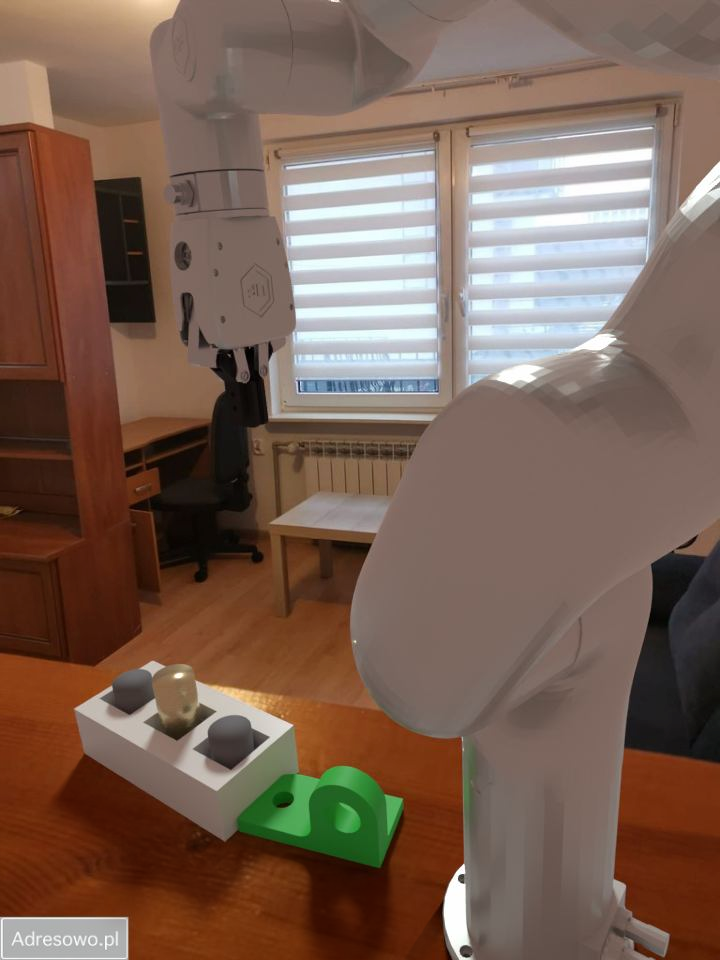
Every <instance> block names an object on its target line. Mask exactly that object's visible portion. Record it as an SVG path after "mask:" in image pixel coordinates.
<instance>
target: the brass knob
mask: <svg viewBox="0 0 720 960" xmlns="http://www.w3.org/2000/svg"><path fill="white" fill-rule="evenodd" d="M165 666H166V665H165ZM195 680H196V676H195V670H194V668H193V667H192V666H191V665H188V664H184V663H175V664H170V665H167V666H166V667H164V668H162V669H160V670H159V671H157V672H156V673H155V674H154V675H153V677H152V684H153V690H154V695H155V700H156V706H157V711H158V716H159V721H160V727H161V732H162V733H163V734H165V735H167V736H169V737H171V738H173V739H174V740H176V741H178V740H179V739H181V738H182V737H183V736H185V735H186V734H187V733H189V732H190V731H191V730H193V729H194V728H195V727H197V726H198V725H199V724H201V723H202V717H201V711H200V705H199V699H198V693H197V687H196V681H197V680H196V681H195Z"/></svg>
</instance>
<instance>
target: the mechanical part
mask: <svg viewBox="0 0 720 960" xmlns="http://www.w3.org/2000/svg"><path fill="white" fill-rule="evenodd" d="M284 803H285V804H286V803H287V804H288V803H289V804H290V805H288V806H285V807H277V806H279V805H281V804H284ZM403 811H404V798H402V797H399V796H398V797H397V796H393V795H389V794H385V793H384V791H383V789H382V788H381V786H380V785H379V784H378V783H377V781H376V780H375V779H373V778H372V777H371V776H370V775H369V774H367V773H366V772H364V771H362V770H360V769H358V768H356V767H354V766H347V765H337V766H333V767H330V768H329V769H327V770H326V771H324V772H323V774H322V775H321V776H320V778H316V777H313V776H308V775H304V774H299V773H298V774H285V775H282V776H281V777H280V778H279V779H277V780H276V781H275V782H274V783H273V784H272V785H271V786H270V787H269V788H268V789H267V790H265V791H264V792H263V793H262V794H261V795H260V796H259V797H258V798H257V799H256V800H255V801H254V802H252V803H251V804H250V805H249V806H248V807H247V808H246V809H245V810H244V811H243V812H242V813H241V815H240V816H239V818H238V819H237V820H238V828H239V829H238V832H240V833H243V834H247V835H251V836H255V837H259V838H263V839H267V840H270V841H274V842H277V843H282V844H285V845H290V846H293V847H297V848H301V849H305V850H308V851H313V852H316V853H321V854H324V855H328V856H332V857H335V858H339V859H342V860H343V859H344V860H347V861H351V862H355V863H359V864H362V865H365V866H370V867H373V868H378V869H381V867H382V866H383V865H382V864H383V862H384V859H385V857H386V854H387V852H388V849H389V847H390V844H391V841H392V839H393V837H394V834H395V831H396V829H397V827H398V825H399V821H400V819H401V816H402V813H403Z"/></svg>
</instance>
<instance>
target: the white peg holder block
mask: <svg viewBox="0 0 720 960" xmlns="http://www.w3.org/2000/svg"><path fill="white" fill-rule="evenodd" d="M164 667H166V665H163V664H162V663H159V662H157V661H155V660H151V661H149V662H148V663H146V664H145V665H143V666H142V667H139V669H144V670H147V671H149V672H150V673H151V675H152V677H153V675H154V674H155V673H156V672H157V671H159V670H160V669H162V668H164ZM195 681H196V687H197V693H198V699H199V705H200V711H201V717H202V723H201V724H199V725H198V726H197V727H195V728H194V729H193V730H191V731H190V732H189V733H187V734H186V735H185V736H183V737H182V738H181V739H179V740H178V741H176V740H174V739H173V738H171V737H169V736H167V735H165V734H163V733H162V732H161V727H160V721H159V716H158V711H157V706H156V700H155V699H153V700H152V701H150V702H149V703H147V704H146V705H144V706H143V707H141V708H140V709H138V710H137V711H135V712H134V713H132V714H131V715H128V714H127V713H125V712H123V711H121V710H119V709H117V707H116V702H115V697H114V693H113V688H112V685H111V686H109V687H107V688H105V689H104V690H102V691H100V693H97V694H96V695H94V696H92V697H91V698H89V699H88V700H86V701H84V702H82V703H81V704H79V705H77V706H76V707H74V708H73V711H74V715H75V718H76V719H75V720H76V723H77V727H78V732H79V736H80V739H81V744H82V749H83V753H84V754H85V755H87V756H88V757H89V758H91V759H93V760H95V761H96V762H97V763H99V764H100V765H102V766H104V767H105V768H107V769H109V770H110V771H111V772H113V773H115V774H117V775H118V776H120V777H121V778H123V779H125V780H126V781H128V782H129V783H131V784H133V785H134V786H135V787H137V788H139V789H140V790H142V791H143V792H145V793H147V794H148V795H150V796H152V797H154V798H155V799H157V800H158V801H160V802H161V803H163V804H164V805H166V806H168V807H169V808H171V809H172V810H174V811H176V812H177V813H179V814H180V815H182V816H184V818H185V817H186V818H187V819H188V820H189V821H192V823H194V824H196V825H197V826H199V827H201V828H203V829H204V830H206V831H207V832H209V833H210V834H212V835H213V836H216V837H217V838H218V839H220V840H222V841H223V842H227V840H228V839H230V837H232V836H233V835H234V834H235V833H236V832H237V831H239V828H238V820H237V819H238V818H239V816H240V815H241V813H242V812H243V811H244V810H245V809H246V808H247V807H248V806H249V805H250V804H251V803H252V802H254V801H255V800H256V799H257V798H258V797H259V796H260V795H261V794H262V793H263V792H264V791H265V790H267V789H268V788H269V787H270V786H271V785H272V784H273V783H274V782H275V781H276V780H277V779H279V778H280V777H281V776H282V775H285V774H299V772H300V771H299V769H300V767H299V762H298V761H299V760H298V752H297V744H296V736H295V735H296V734H295V726H294V724H291V723H290V722H287V721H285V720H284V719H281V718H279V717H277V716H274V715H272V714H270V713H268V712H266V711H264V710H261V709H259V708H257V707H255V706H252V705H251V704H248V703H246V702H244V701H242V700H239V699H237V698H235V697H233V696H231V695H229V694H226V693H224V692H222V691H220V690H218V689H215V688H213V687H211V686H209V685H207V684H205V683H202V682H200V681H198V680H196V679H195ZM229 715H240V716H243V717H246V718H247V719H248V720H249V721H250V723H251V728H252V735H253V743H254V751H253V752H252V753H251V754H250V755H248V756H247V757H246V758H245V759H244V760H243V761H241V762H240V763H239V764H238V765H237V766H235V767H234V768H233V769H232V770H230V769H228V768H226V767H224V766H222V765H221V764H219V763H217V762H215V761H213V760H212V758H211V752H210V745H209V739H208V729H209V727H210V726H211V724H212V723H213V722H215V721H216V720H218V719H220V718H222V717H225V716H229Z"/></svg>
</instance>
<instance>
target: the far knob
mask: <svg viewBox="0 0 720 960" xmlns="http://www.w3.org/2000/svg"><path fill="white" fill-rule="evenodd" d="M111 686H112V688H113V693H114V697H115V702H116V707H117V709H119V710H121V711H123V712H125V713H127V714H128V715H131V714H132V713H134V712H135V711H137V710H138V709H140V708H141V707H143V706H144V705H146V704H147V703H149V702H150V701H152V700H153V699H155V695H154V690H153V684H152V675H151V673H150V672H149V671H147V670H144V669H140V668H138V669H137V668H136V669H129V670H127V671H124V672H122V673H120V674H119V675H117V676H116V677H115V678H114V679H113V680H112V683H111Z"/></svg>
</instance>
